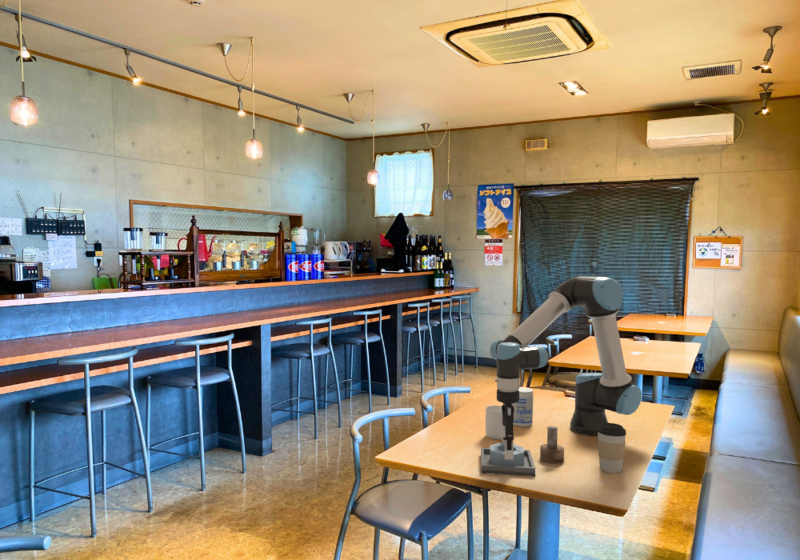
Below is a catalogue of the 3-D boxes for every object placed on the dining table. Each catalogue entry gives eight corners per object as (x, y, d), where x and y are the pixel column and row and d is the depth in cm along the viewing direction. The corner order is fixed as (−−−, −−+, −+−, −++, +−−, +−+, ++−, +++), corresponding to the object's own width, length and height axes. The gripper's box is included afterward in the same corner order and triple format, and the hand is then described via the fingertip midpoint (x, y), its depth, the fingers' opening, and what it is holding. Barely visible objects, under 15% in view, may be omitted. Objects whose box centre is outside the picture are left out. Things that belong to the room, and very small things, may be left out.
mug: (501, 442, 212) (501, 413, 211) (481, 437, 217) (481, 408, 217) (516, 434, 221) (516, 406, 221) (496, 429, 227) (496, 402, 226)
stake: (561, 455, 198) (562, 424, 197) (565, 463, 190) (566, 431, 189) (538, 454, 199) (539, 423, 198) (541, 462, 191) (542, 430, 190)
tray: (529, 457, 196) (529, 450, 196) (535, 476, 179) (535, 468, 179) (480, 454, 198) (480, 447, 198) (481, 473, 181) (481, 465, 181)
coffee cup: (591, 464, 189) (592, 420, 189) (617, 463, 190) (618, 420, 189) (603, 475, 180) (604, 429, 180) (630, 474, 181) (631, 428, 180)
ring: (521, 456, 193) (522, 444, 193) (524, 468, 182) (525, 455, 182) (489, 455, 195) (489, 442, 194) (490, 467, 184) (491, 453, 183)
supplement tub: (517, 428, 229) (518, 392, 228) (504, 422, 237) (505, 387, 237) (537, 425, 232) (538, 390, 232) (523, 419, 241) (524, 385, 241)
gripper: (494, 380, 200) (494, 439, 201) (498, 398, 175) (498, 465, 176) (516, 381, 199) (515, 439, 200) (522, 399, 175) (522, 466, 176)
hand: (507, 451), depth 188 cm, fingers open, 13 cm apart
